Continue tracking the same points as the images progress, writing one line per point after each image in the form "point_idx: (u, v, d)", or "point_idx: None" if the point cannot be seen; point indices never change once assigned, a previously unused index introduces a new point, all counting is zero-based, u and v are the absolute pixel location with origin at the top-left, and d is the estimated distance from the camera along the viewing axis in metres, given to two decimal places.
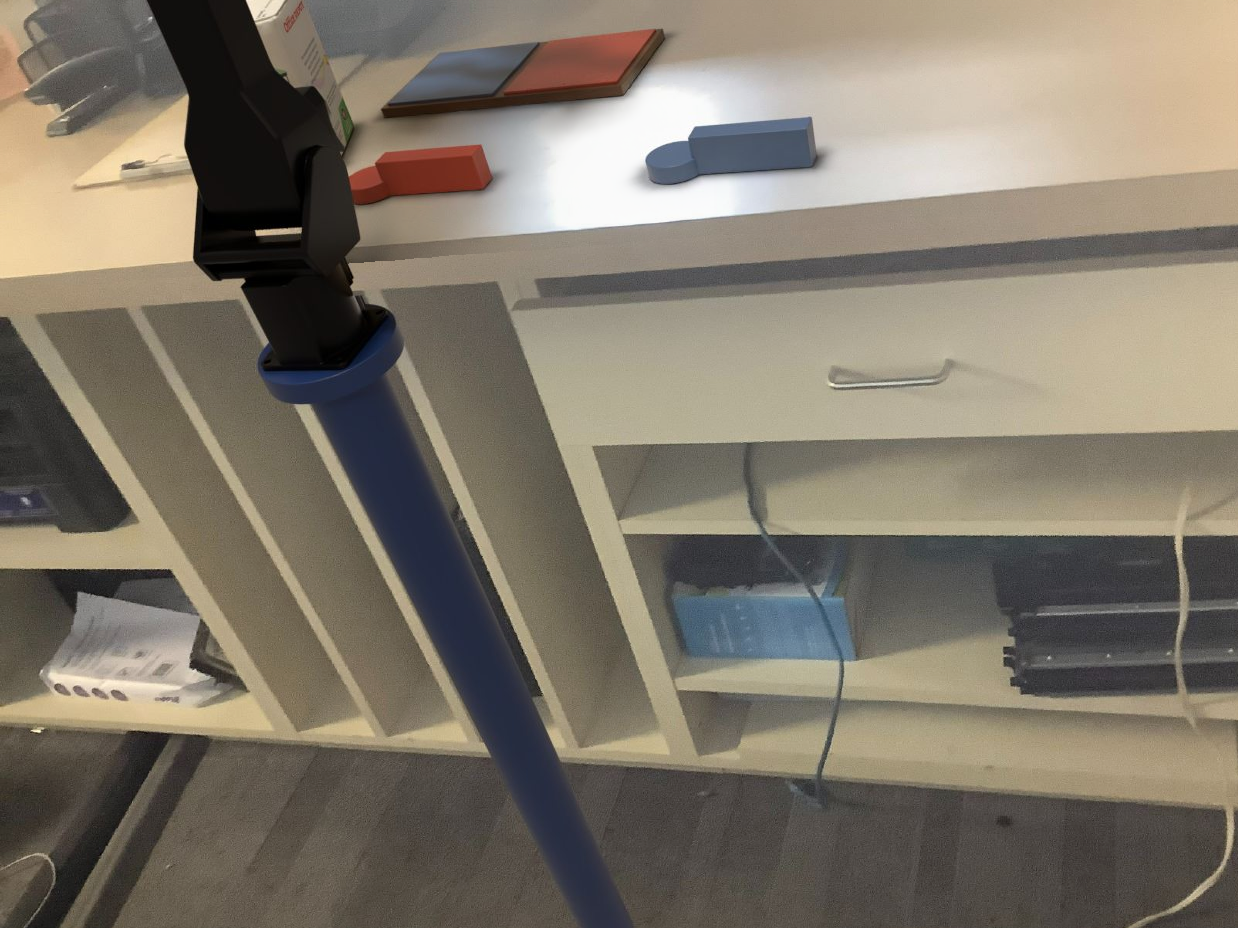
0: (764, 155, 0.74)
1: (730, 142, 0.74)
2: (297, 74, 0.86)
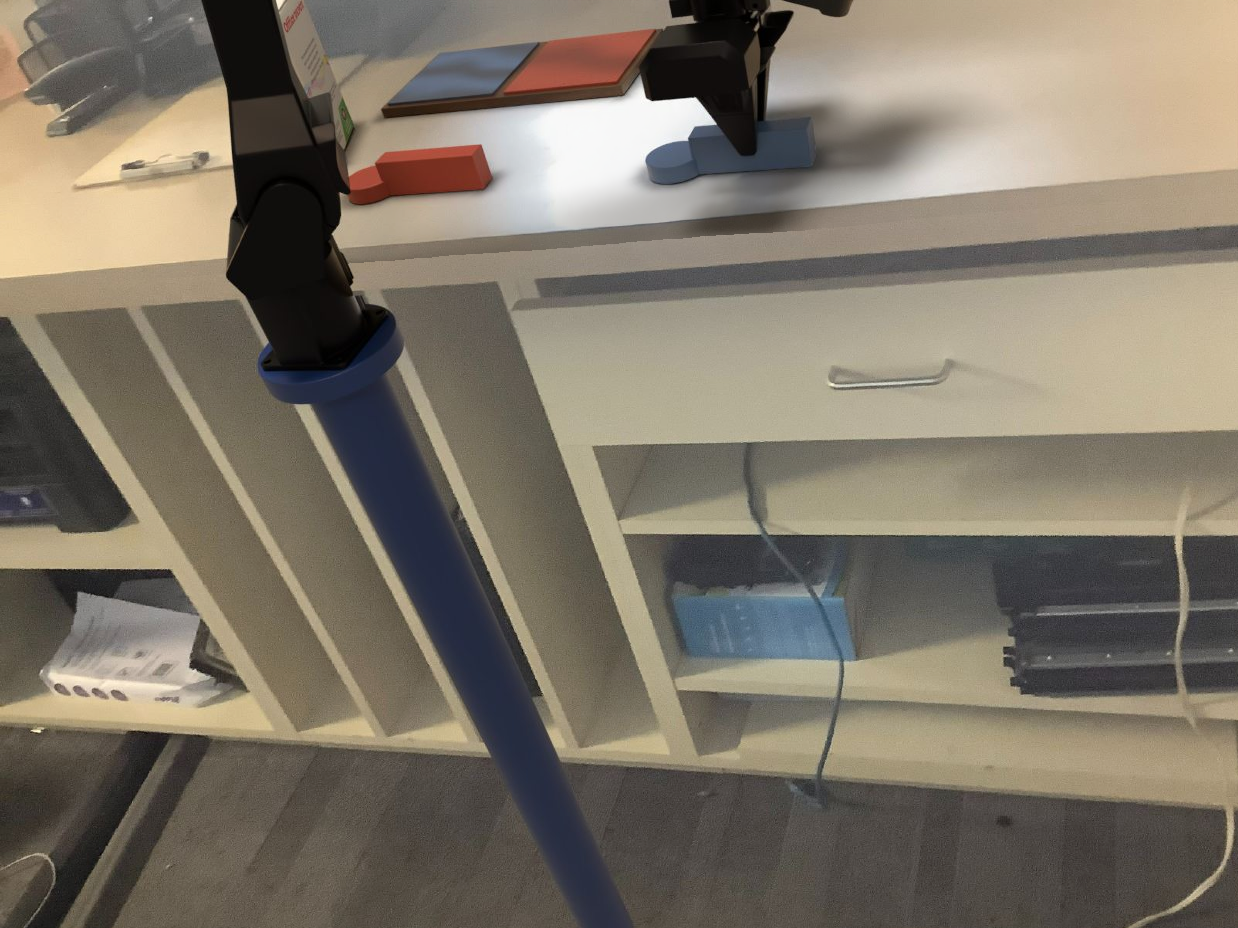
0: (764, 155, 0.74)
1: None
2: (297, 74, 0.86)
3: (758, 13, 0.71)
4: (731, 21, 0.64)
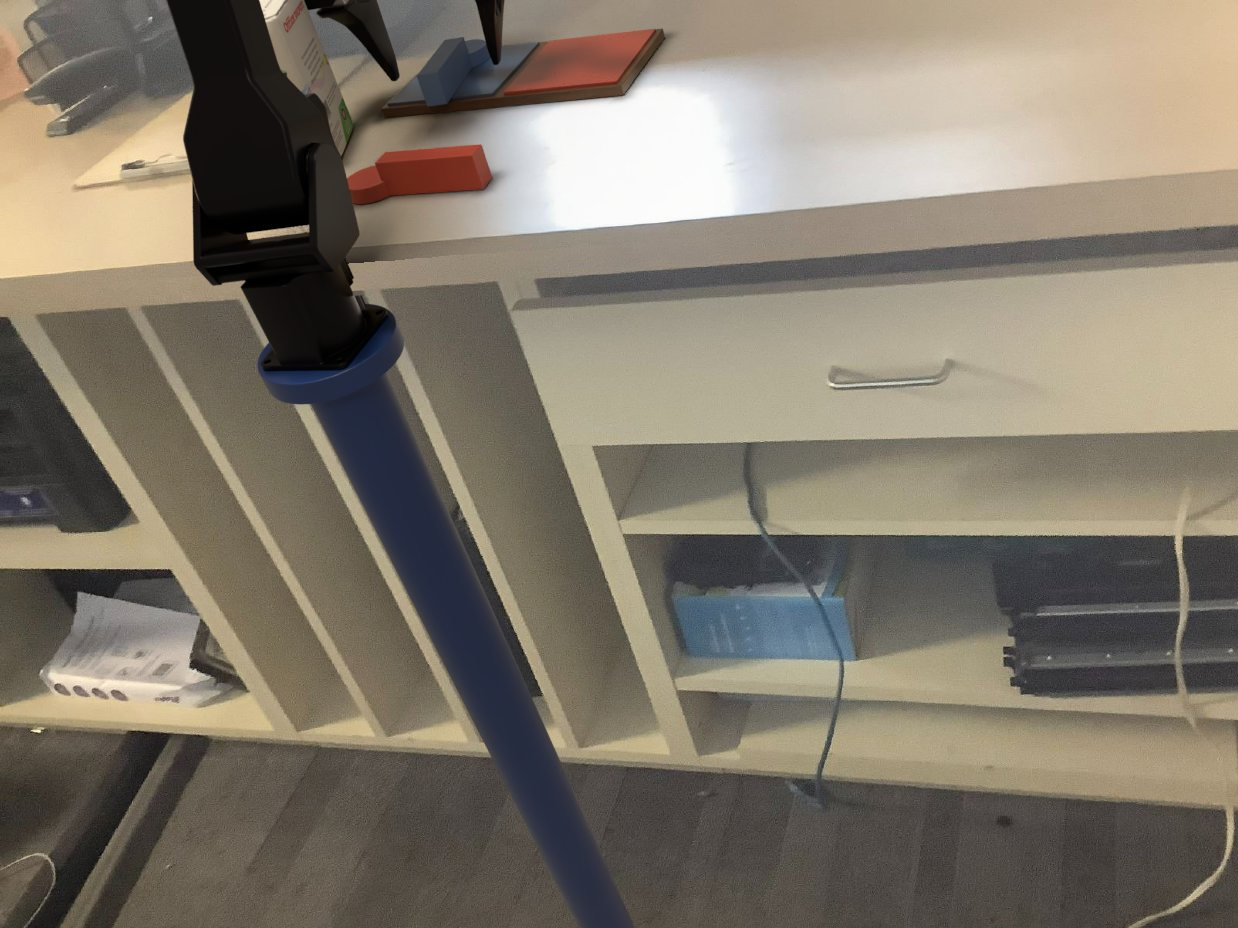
0: None
1: None
2: (297, 74, 0.86)
3: None
4: None
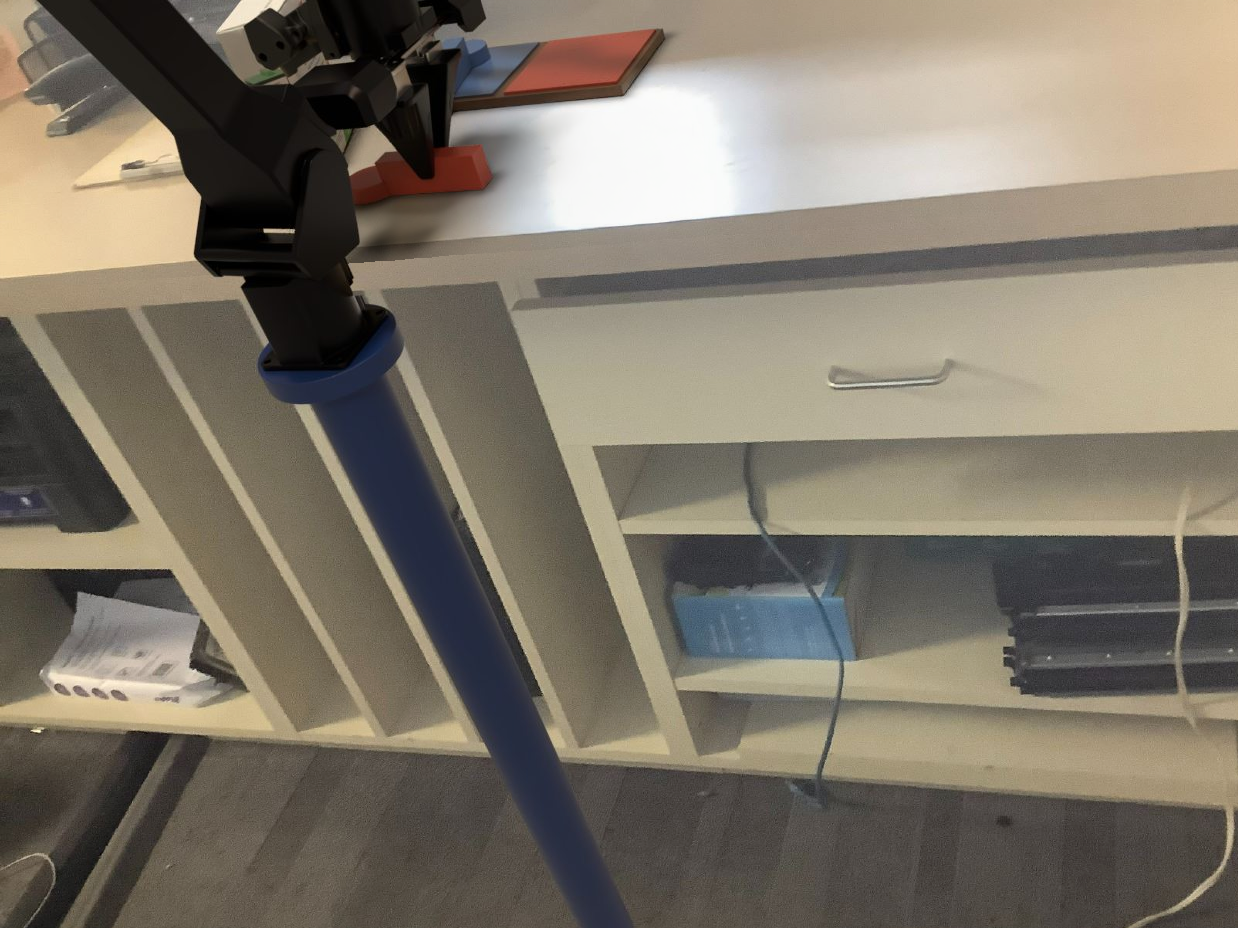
0: None
1: None
2: (297, 74, 0.86)
3: None
4: None
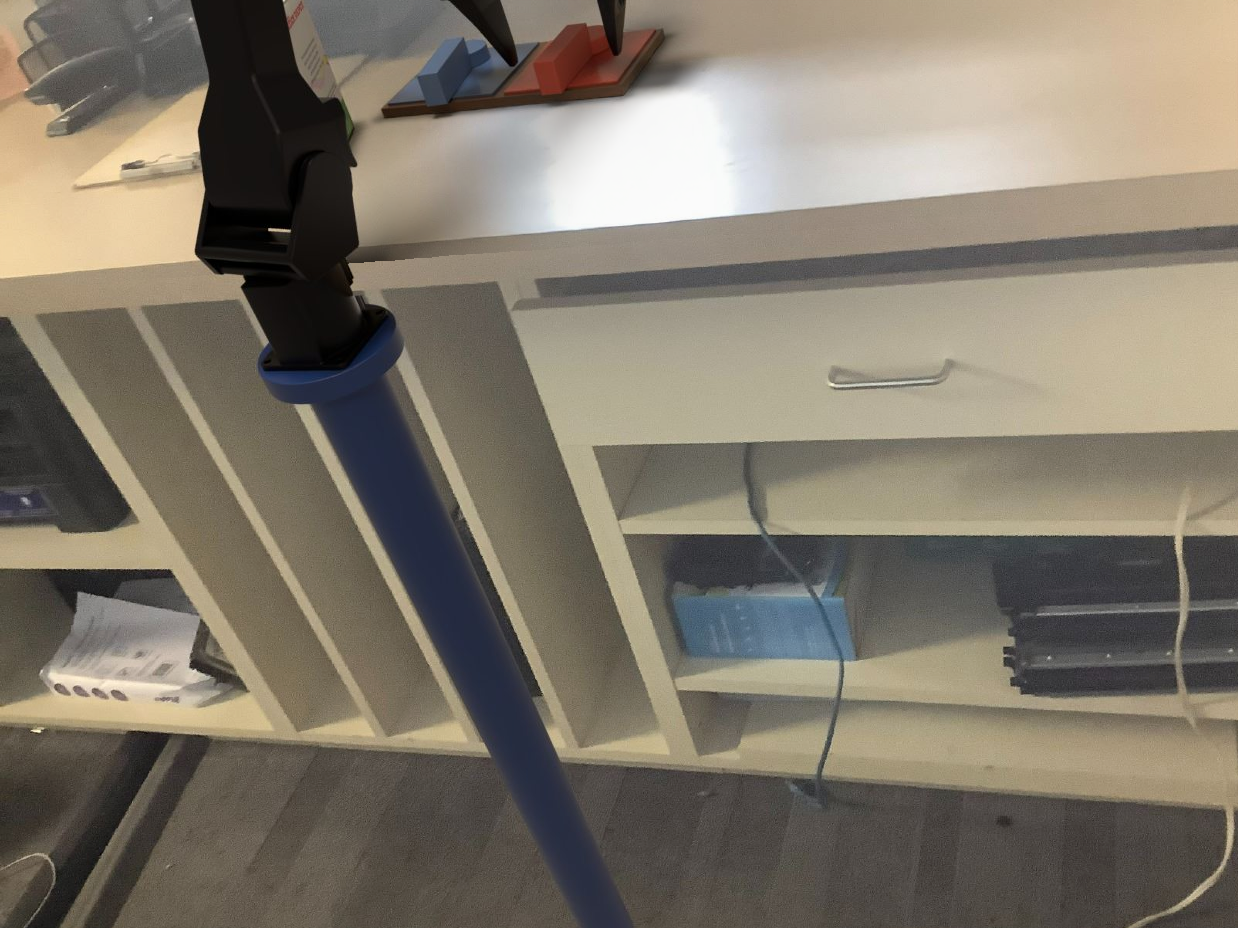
0: None
1: None
2: None
3: None
4: None
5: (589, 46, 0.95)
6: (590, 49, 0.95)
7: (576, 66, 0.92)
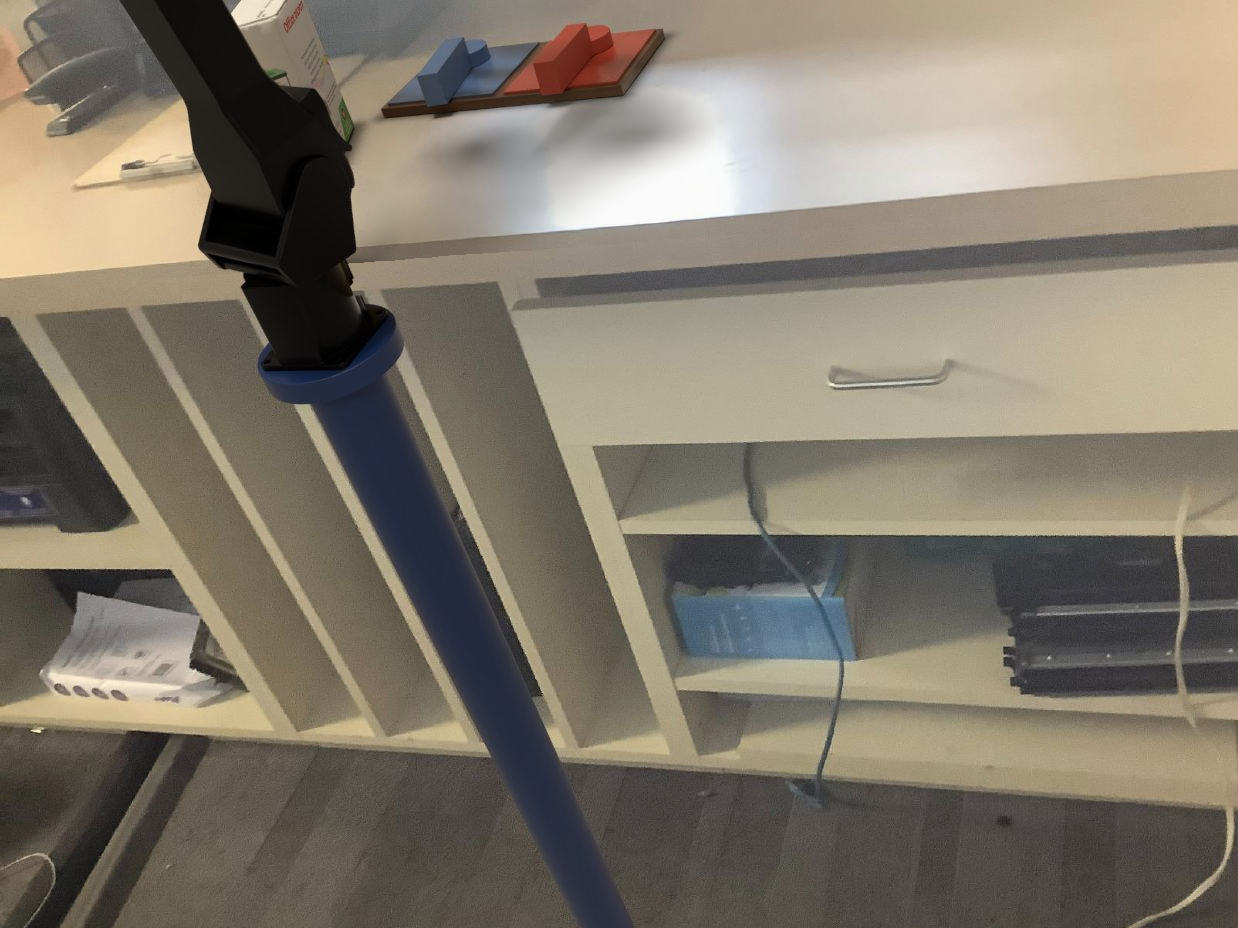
0: None
1: None
2: (297, 74, 0.86)
3: None
4: None
5: (589, 46, 0.95)
6: (590, 49, 0.95)
7: (576, 66, 0.92)
